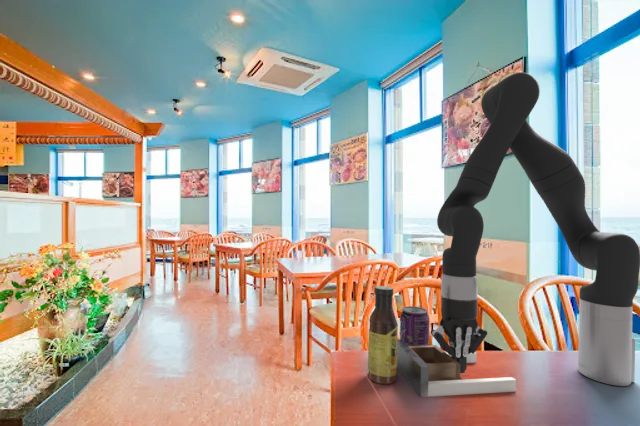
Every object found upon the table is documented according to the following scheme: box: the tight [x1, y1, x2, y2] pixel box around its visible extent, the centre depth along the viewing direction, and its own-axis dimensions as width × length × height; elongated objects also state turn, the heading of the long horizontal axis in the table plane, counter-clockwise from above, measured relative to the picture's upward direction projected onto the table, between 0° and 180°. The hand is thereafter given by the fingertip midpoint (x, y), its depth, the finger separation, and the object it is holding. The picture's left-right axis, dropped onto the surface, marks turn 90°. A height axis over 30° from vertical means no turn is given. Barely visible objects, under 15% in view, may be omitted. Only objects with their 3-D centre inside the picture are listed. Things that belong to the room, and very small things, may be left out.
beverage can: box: [399, 305, 430, 346], centre depth 83 cm, size 7×7×12 cm
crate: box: [408, 344, 461, 381], centre depth 71 cm, size 8×10×5 cm
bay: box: [397, 338, 517, 398], centre depth 72 cm, size 21×14×6 cm
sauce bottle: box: [367, 285, 399, 385], centre depth 71 cm, size 7×6×20 cm
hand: (458, 371), depth 72 cm, fingers closed
